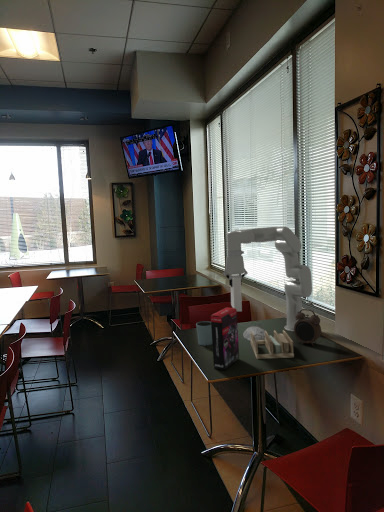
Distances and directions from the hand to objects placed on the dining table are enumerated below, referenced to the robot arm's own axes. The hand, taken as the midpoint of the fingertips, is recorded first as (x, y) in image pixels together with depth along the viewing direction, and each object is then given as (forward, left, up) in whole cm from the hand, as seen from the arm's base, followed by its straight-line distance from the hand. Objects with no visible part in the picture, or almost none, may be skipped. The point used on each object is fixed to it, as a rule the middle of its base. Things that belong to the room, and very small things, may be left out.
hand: (235, 286), depth 204 cm
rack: (-18, +6, -35) cm, 40 cm away
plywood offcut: (-24, +6, -36) cm, 44 cm away
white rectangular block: (0, 0, -12) cm, 12 cm away
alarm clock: (-40, -2, -36) cm, 54 cm away
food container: (-14, -18, -36) cm, 43 cm away
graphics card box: (+8, +22, -36) cm, 43 cm away
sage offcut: (-19, +6, -36) cm, 41 cm away
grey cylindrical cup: (+18, -10, -36) cm, 41 cm away
